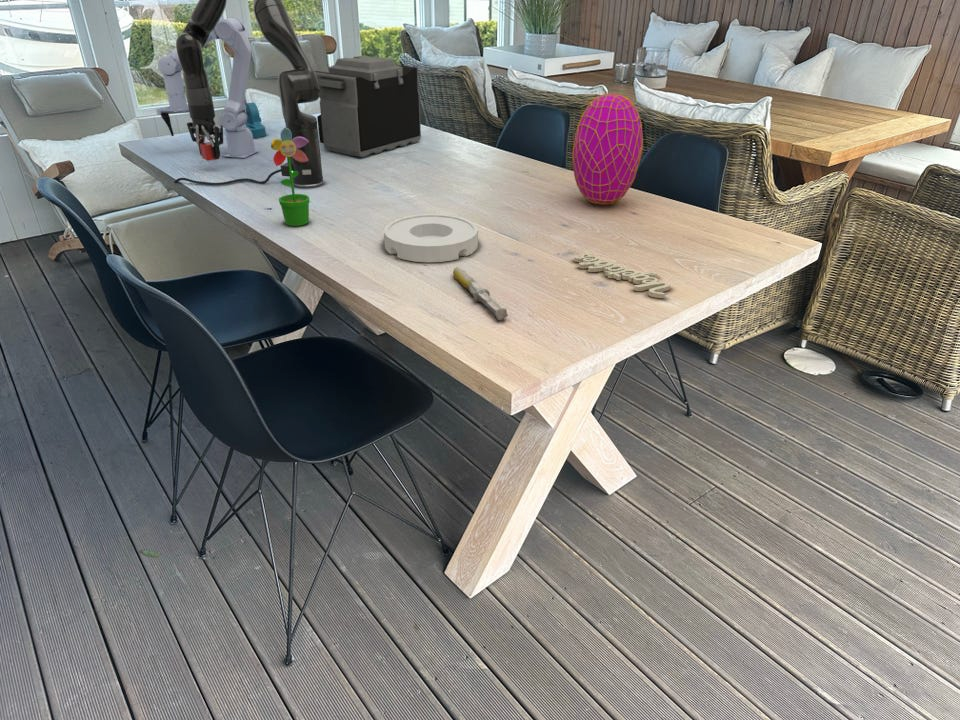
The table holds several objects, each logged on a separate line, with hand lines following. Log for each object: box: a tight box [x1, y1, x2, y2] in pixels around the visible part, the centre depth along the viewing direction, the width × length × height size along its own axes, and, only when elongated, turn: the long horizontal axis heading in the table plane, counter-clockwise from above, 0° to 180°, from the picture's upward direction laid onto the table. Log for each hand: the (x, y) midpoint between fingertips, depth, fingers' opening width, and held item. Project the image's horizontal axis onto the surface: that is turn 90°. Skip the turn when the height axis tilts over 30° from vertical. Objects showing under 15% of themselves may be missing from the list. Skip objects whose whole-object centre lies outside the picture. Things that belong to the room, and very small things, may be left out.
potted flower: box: [270, 127, 310, 227], centre depth 177 cm, size 9×8×25 cm
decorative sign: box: [574, 252, 671, 299], centre depth 155 cm, size 26×1×10 cm
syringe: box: [452, 266, 509, 321], centre depth 145 cm, size 25×4×3 cm, turn 21°
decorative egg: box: [571, 92, 644, 205], centre depth 194 cm, size 19×19×30 cm
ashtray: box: [383, 213, 479, 263], centre depth 170 cm, size 23×23×4 cm
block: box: [200, 141, 220, 162], centre depth 223 cm, size 4×4×5 cm
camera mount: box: [244, 102, 267, 139], centre depth 271 cm, size 18×10×10 cm, turn 35°
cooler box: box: [313, 55, 422, 159], centre depth 250 cm, size 37×22×30 cm, turn 144°
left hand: (184, 134), depth 242 cm, fingers open, 7 cm apart
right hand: (210, 156), depth 224 cm, fingers closed on block, 5 cm apart
